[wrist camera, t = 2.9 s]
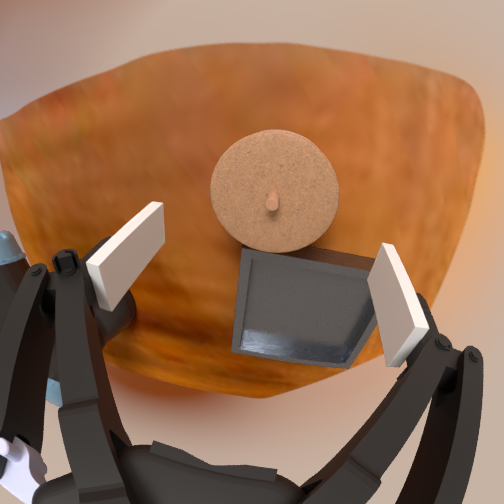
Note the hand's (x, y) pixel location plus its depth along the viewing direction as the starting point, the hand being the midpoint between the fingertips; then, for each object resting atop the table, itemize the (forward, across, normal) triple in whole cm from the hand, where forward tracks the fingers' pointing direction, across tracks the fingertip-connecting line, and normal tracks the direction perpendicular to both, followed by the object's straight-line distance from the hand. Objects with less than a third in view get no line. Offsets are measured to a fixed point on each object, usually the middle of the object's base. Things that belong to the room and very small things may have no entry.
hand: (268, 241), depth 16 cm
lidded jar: (+15, 0, 0) cm, 15 cm away
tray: (+15, -6, +18) cm, 24 cm away
